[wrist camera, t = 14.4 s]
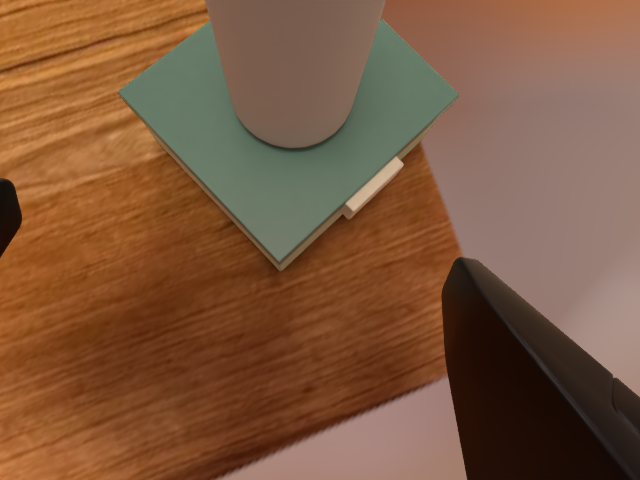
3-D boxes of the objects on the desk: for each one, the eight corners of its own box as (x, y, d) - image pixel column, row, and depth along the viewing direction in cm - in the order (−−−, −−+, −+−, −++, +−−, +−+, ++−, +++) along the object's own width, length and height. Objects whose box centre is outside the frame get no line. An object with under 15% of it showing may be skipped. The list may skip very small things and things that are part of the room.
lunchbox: (429, 148, 23) (469, 102, 18) (287, 282, 21) (288, 272, 16) (302, 21, 24) (307, -56, 19) (154, 141, 22) (116, 91, 17)
